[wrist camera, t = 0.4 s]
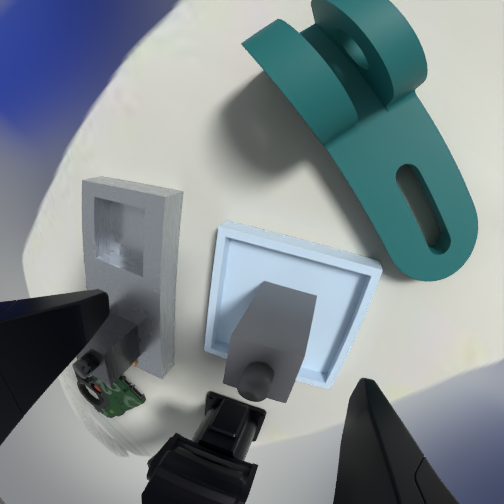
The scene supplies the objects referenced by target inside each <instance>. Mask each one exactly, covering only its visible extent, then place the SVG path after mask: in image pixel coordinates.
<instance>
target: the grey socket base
mask: <svg viewBox="0 0 504 504" xmlns="http://www.w3.org/2000/svg"><path fill="white" fill-rule="evenodd" d="M182 199H183V192H182V191H177V190H172V189H167V188H162V187H157V186H152V185H147V184H141V183H136V182H131V181H125V180H119V179H114V178H108V177H96V178H91V179H86V180H82V232H83V250H84V263H85V274H86V283H87V290H94V289H100V290H103V291H105V292H107V293H108V296H109V307H110V314H109V317H108V318H107V320H106V321H105V322H104V323H103V325H102V326H101V327H100V329H99V330H98V331H97V332H96V334H95V335H94V336H93V338H92V339H91V340H90V342H89V343H88V344H87V345H86V346H85V348H84V349H83V350H82V351H81V352H80V353H79V354H78V355H77V359H78V360H77V361H76V362H75V363H74V364H73V369H74V370H75V372H76V373H77V374H78V375H79V376H80V377H81V378H83V379H86V378H87V377H88V376H89V375H90V374H92V375H93V376H95V377H96V378H98V379H100V380H101V381H103V382H104V383H106V384H108V385H109V386H112V384H113V383H114V382H115V381H116V380H117V379H118V378H119V377H120V376H121V375H122V374H123V373H124V372H125V371H126V370H127V369H128V368H129V367H130V366H131V365H133V366H137V367H138V368H140V369H142V370H144V371H146V372H148V373H151V374H153V375H155V376H157V377H159V378H161V379H163V377H164V376H165V375H166V374H167V372H168V371H169V370H170V369H171V367H172V366H173V365H174V315H175V289H176V270H177V255H178V242H179V230H180V219H181V208H182Z"/></svg>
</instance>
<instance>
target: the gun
mask: <svg viewBox="0 0 504 504" xmlns="http://www.w3.org/2000/svg"><path fill="white" fill-rule="evenodd" d="M75 374H76V377H77V380H78V382H77V385H78V388H79V390H80V392H81V394H82V395H83V396H84V397H85V398H86V399H87V401H88V402H90V403H91V404H92V405H93V406H94V408H95V409H96V410H98V412H101V413H102V414H104V415H105V416H106V417H110V418H113V417H115V416H121V415H123V414H124V413H125V411H127V410H129V409H132V408H134V407H137V406H139V405H141V404H143V403H144V402H145V401H146V398H145V396H143V395H144V394H143V395H141V394H140V393H139V392H138V391H137V390H136V389H135V388H134V386H135V385H133V386H132V387H128V386H129V385H130V384H131V383H128V382H127V381H126V380H125V379H126V378H125V376H123V377H121V376H120V377H119V378H118V379H117V380H116V381H115V382H114V383H113V384H112V386H109V385H108V384H106V383H104V382H103V381H101V380H100V379H98V378H96V377H95V376H91V377H90V378H89V377H87V378H86V379H83V378H81V377H80V376H79V375H78V374H77V373H76V372H75ZM85 385H86V386H88V387H89V388H90V389H91V390H92V391H94V392H95V393H96V394H97V395H98V397H99V399H100V400H98V399H96V398H95V397H93V396H92V395H91V394H90V393H89V392H88V390H87V389H86V387H85Z"/></svg>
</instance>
